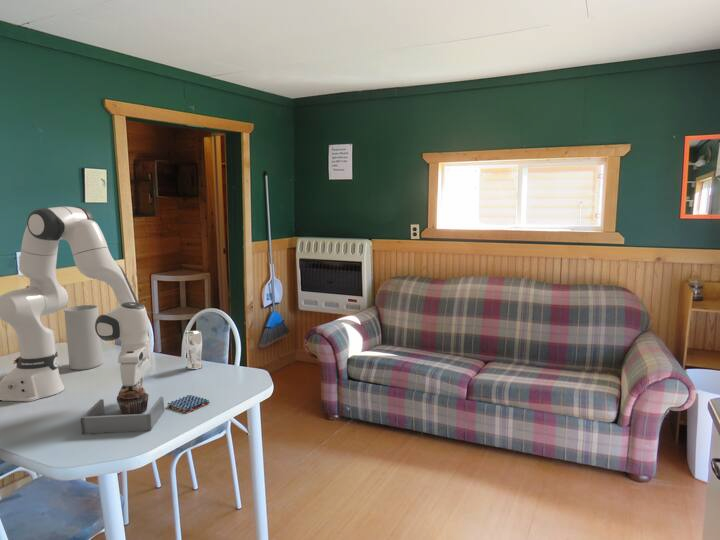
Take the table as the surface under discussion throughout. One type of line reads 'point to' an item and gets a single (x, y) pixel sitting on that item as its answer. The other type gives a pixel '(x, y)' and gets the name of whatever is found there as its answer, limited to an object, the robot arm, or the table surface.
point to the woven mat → (188, 403)
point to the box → (120, 419)
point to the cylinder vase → (83, 337)
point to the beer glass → (193, 349)
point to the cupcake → (132, 400)
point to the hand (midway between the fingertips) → (139, 390)
